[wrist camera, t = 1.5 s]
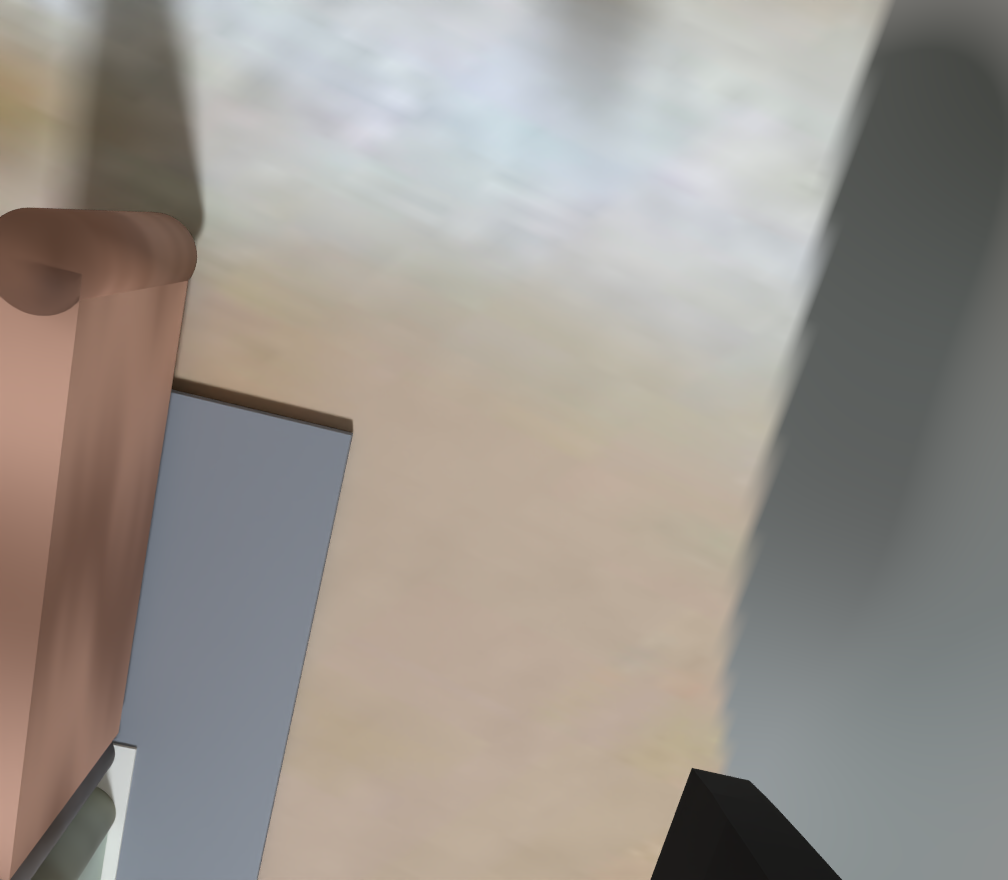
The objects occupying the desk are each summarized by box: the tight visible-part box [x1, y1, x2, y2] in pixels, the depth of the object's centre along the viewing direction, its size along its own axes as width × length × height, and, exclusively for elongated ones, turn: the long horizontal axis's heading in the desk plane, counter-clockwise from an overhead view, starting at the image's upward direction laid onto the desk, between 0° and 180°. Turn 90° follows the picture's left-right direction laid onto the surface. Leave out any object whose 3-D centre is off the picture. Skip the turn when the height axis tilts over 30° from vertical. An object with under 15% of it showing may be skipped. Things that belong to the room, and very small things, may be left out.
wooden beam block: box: [0, 208, 197, 880], centre depth 14 cm, size 12×1×4 cm, turn 166°
